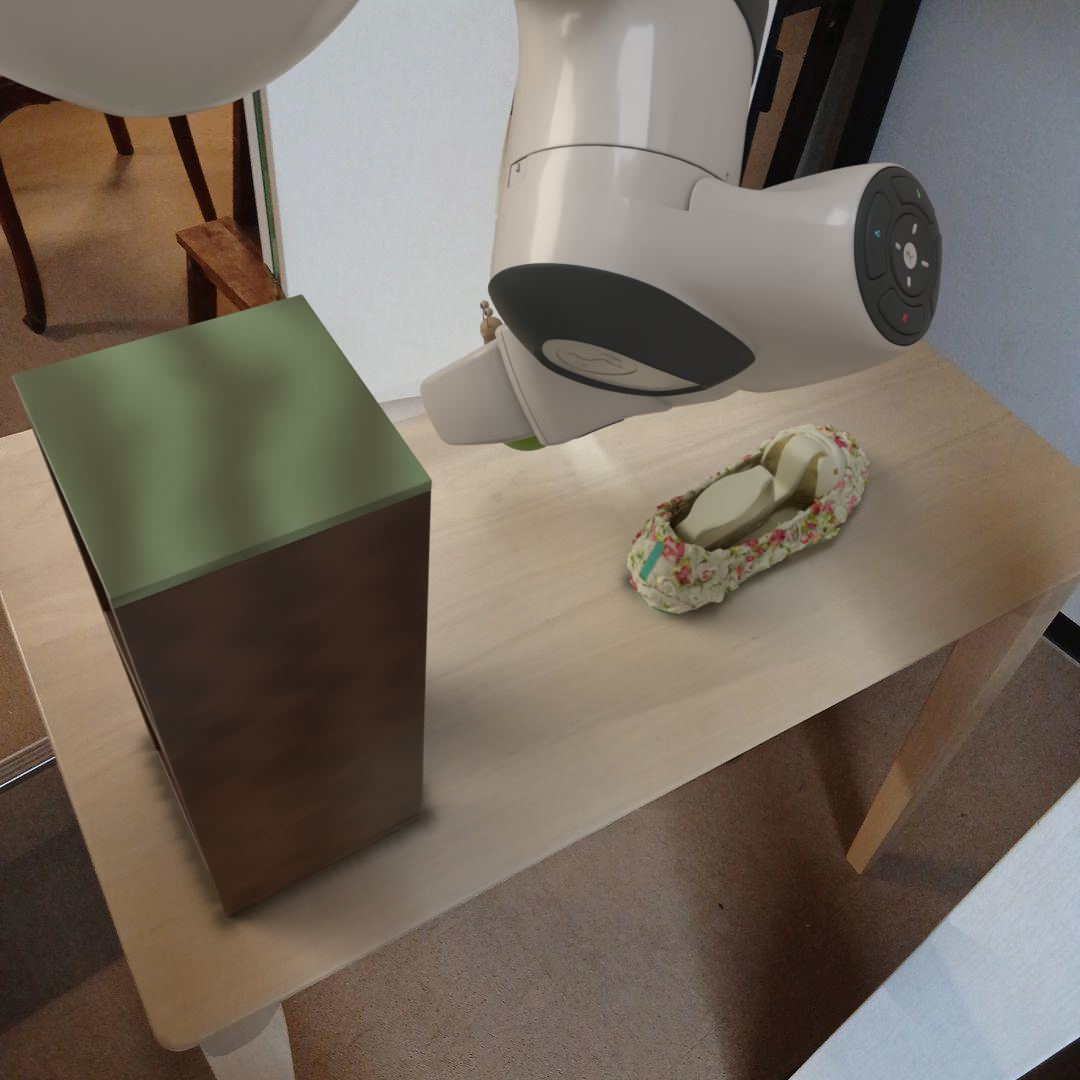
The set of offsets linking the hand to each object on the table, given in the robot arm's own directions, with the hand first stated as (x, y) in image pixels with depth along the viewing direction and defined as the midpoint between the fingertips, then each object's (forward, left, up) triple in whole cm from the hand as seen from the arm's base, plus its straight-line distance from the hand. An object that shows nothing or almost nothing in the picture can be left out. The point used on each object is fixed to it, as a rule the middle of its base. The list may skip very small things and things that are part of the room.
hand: (520, 360), depth 67 cm
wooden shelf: (-25, -2, -15) cm, 29 cm away
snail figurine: (0, -1, -7) cm, 7 cm away
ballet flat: (+10, -16, -15) cm, 24 cm away
